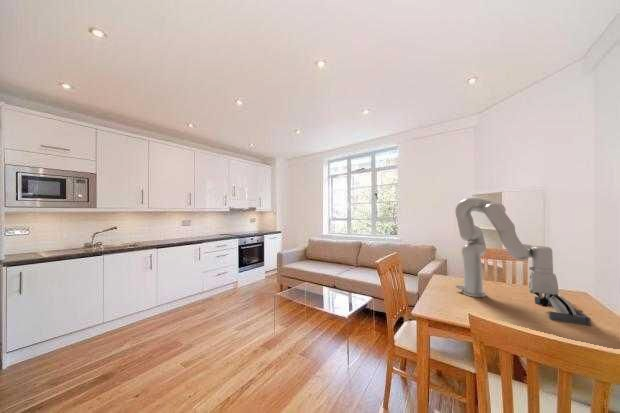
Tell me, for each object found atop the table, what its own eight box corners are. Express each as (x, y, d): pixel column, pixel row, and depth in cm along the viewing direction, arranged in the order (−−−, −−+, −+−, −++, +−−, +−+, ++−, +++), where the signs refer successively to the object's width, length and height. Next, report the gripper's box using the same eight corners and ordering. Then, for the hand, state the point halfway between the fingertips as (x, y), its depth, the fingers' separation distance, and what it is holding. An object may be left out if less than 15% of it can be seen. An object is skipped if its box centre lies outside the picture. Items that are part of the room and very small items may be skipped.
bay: (550, 319, 110) (550, 311, 110) (534, 302, 130) (534, 295, 130) (591, 326, 104) (591, 317, 104) (567, 306, 123) (567, 299, 123)
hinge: (585, 324, 106) (574, 302, 108) (571, 325, 108) (561, 304, 110) (566, 309, 121) (556, 290, 122) (554, 310, 123) (545, 292, 124)
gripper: (525, 270, 120) (526, 305, 120) (566, 274, 113) (567, 311, 113) (521, 267, 127) (522, 300, 127) (559, 270, 119) (560, 305, 119)
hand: (543, 305), depth 120 cm, fingers closed
